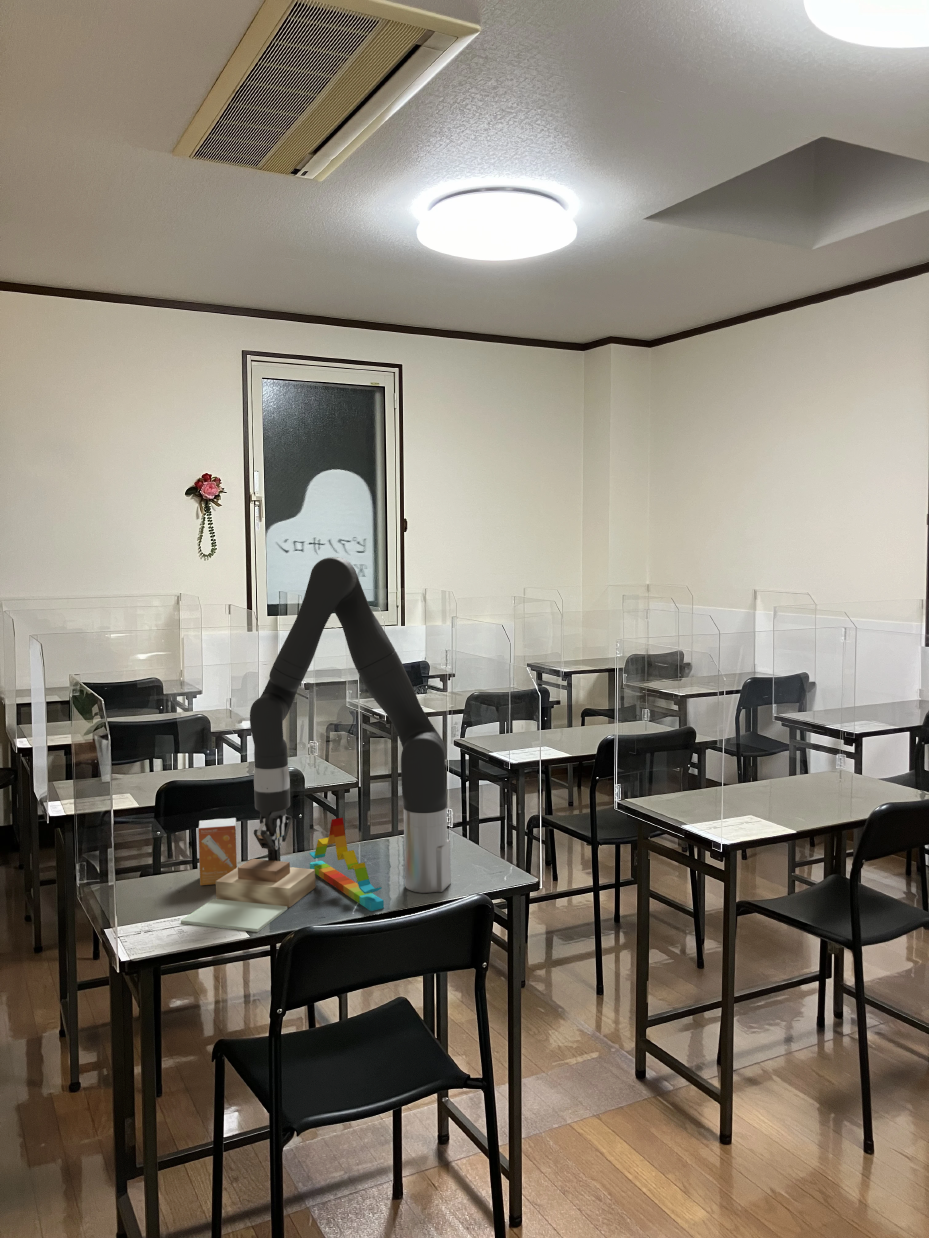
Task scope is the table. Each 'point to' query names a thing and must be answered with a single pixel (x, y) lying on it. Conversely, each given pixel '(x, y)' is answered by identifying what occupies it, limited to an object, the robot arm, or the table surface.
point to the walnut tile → (264, 870)
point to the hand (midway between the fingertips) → (274, 864)
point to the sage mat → (234, 915)
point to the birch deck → (267, 888)
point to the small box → (217, 849)
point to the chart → (337, 879)
